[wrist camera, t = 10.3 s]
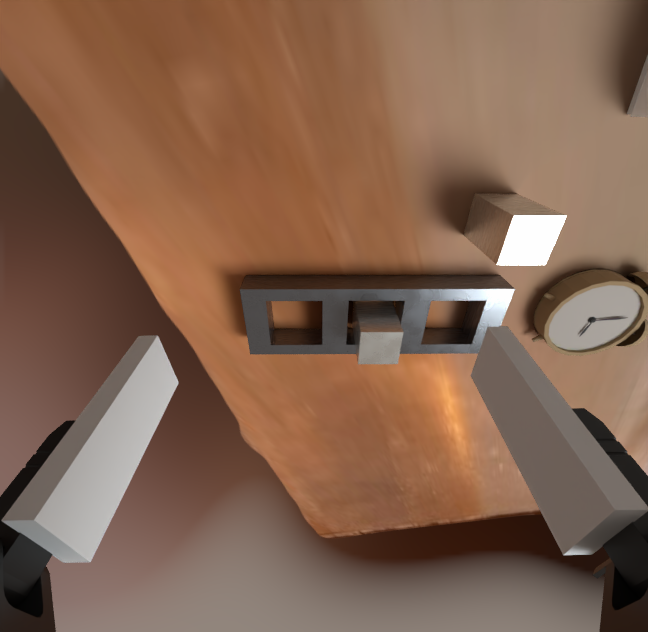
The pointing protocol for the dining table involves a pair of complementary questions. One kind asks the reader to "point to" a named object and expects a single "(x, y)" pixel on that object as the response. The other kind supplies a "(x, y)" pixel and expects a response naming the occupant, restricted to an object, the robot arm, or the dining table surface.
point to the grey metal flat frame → (407, 290)
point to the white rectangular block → (513, 228)
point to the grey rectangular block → (376, 332)
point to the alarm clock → (593, 312)
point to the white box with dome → (640, 95)
